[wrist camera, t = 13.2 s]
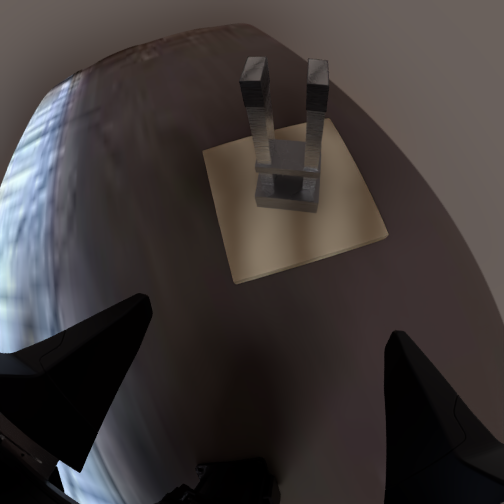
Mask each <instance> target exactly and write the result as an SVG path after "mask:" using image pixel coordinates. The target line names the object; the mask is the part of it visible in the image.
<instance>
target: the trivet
mask: <svg viewBox="0 0 504 504" xmlns="http://www.w3.org/2000/svg"><path fill="white" fill-rule="evenodd" d="M306 124H307V123H303V124H298V125H293V126H289V127H285V128H281V129H277V130H274V134H275V139H279V140H291V141H302V142H306ZM203 156H204V160H205V165H206V169H207V174H208V178H209V182H210V187H211V191H212V195H213V200H214V204H215V208H216V212H217V217H218V221H219V225H220V229H221V233H222V237H223V241H224V246H225V250H226V254H227V258H228V262H229V266H230V270H231V274H232V277H233V281H234V283H235V284H240V283H243V282H247V281H250V280H254V279H257V278H261V277H264V276H267V275H271V274H274V273H278V272H281V271H284V270H288V269H291V268H294V267H298V266H301V265H304V264H307V263H311V262H314V261H317V260H320V259H324V258H327V257H330V256H333V255H336V254H340V253H343V252H346V251H349V250H352V249H355V248H358V247H362V246H365V245H368V244H371V243H374V242H377V241H380V240H383V239H385V238H386V237H387V236H388V235H389V234H388V232H387V229H386V227H385V225H384V222H383V220H382V218H381V215H380V213H379V211H378V209H377V206H376V204H375V202H374V200H373V198H372V196H371V194H370V191H369V189H368V187H367V185H366V183H365V181H364V179H363V177H362V175H361V173H360V171H359V169H358V167H357V166H356V164H355V162H354V160H353V158H352V156H351V154H350V153H349V151H348V149H347V147H346V145H345V144H344V142H343V140H342V138H341V137H340V135H339V133H338V131H337V130H336V128H335V126H334V125H333V123H332V121H331V120H330V118H328V119H324V127H323V135H322V142H321V172H320V189H319V203H318V208H317V213H310V212H301V211H292V210H283V209H274V208H264V207H257V204H256V200H255V191H256V186H257V180H258V175H259V173H256V170H255V163H256V153H255V148H254V143H253V138H252V136H250V137H246V138H243V139H239V140H236V141H232V142H229V143H226V144H223V145H219V146H216V147H213V148H210V149H207V150H204V151H203Z"/></svg>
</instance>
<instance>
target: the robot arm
mask: <svg viewBox="0 0 504 504" xmlns="http://www.w3.org/2000/svg"><path fill="white" fill-rule="evenodd" d="M152 314H153V311H152V307H151V303H150V299H149V297H148V295H145V294H141V293H138V294H135V295H133V296H131V297H129V298H127V299H125V300H123V301H121V302H119V303H117V304H115V305H113V306H111V307H109V308H107V309H105V310H103V311H101V312H99V313H97V314H95V315H93V316H91V317H90V318H88V319H86V320H84V321H82V322H80V323H78V324H76V325H74V326H72V327H70V328H68V329H66V330H64V331H62V332H60V333H58V334H56V335H54V336H52V337H50V338H48V339H45V340H43V341H41V342H39V343H36V344H34V345H31V346H29V347H27V348H24V349H22V350H19V351H17V352H14V353H0V504H79V503H78V502H76V501H75V500H73V499H72V498H70V497H69V496H68V495H66V494H65V493H64V492H65V491H64V488H63V485H62V482H61V478H60V475H59V471H58V468H57V466H56V465H57V463H58V461H59V460H60V461H62V462H63V463H65V464H66V465H68V466H69V467H71V468H73V469H74V470H76V471H77V472H79V473H80V472H81V471H82V469H83V466H84V464H85V461H86V459H87V457H88V454H89V452H90V450H91V447H92V445H93V443H94V441H95V438H96V436H97V434H98V431H99V429H100V427H101V425H102V423H103V421H104V418H105V416H106V414H107V412H108V410H109V408H110V406H111V404H112V402H113V399H114V397H115V395H116V393H117V391H118V389H119V387H120V385H121V383H122V381H123V379H124V377H125V375H126V373H127V371H128V369H129V367H130V365H131V364H132V362H133V360H134V358H135V356H136V354H137V352H138V350H139V348H140V345H141V343H142V341H143V338H144V336H145V333H146V331H147V328H148V326H149V323H150V321H151V318H152ZM384 396H385V412H386V485H385V489H386V490H385V498H384V504H504V444H503V443H501V442H499V441H498V440H497V439H496V438H495V437H494V436H493V435H492V434H491V432H490V431H489V430H488V429H487V428H486V427H485V426H484V425H483V424H482V423H481V421H480V420H479V419H478V418H477V417H476V416H475V415H474V414H473V413H472V411H471V410H470V409H469V408H468V406H467V405H466V404H465V403H464V402H463V400H462V399H461V398H460V396H459V395H457V393H456V392H455V390H454V389H453V388H452V387H451V385H450V384H449V383H448V382H447V380H446V379H445V378H444V377H443V375H442V374H441V373H440V372H439V371H438V369H437V368H436V367H435V366H434V365H433V363H432V362H431V361H430V360H429V359H428V358H427V356H426V355H425V354H424V353H423V352H422V351H421V349H420V348H419V347H418V346H417V345H416V344H415V343H414V341H413V340H412V339H411V338H410V337H409V336H408V335H407V334H406V332H404V331H398V330H395V331H393V332H392V334H391V336H390V338H389V340H388V342H387V344H386V346H385V351H384ZM258 461H260V462H262V463H261V464H258V463H257V462H258ZM200 468H202V469H203V470H201V469H200ZM195 469H196V472H197V475H198V477H199V479H200V482H199V483H198V485H197V486H196V488H195V489H194V490H193V489H191V488H189V486H187V485H185V484H182V485H181V486H180V487H179V488H178V487H176V488H175V489H174V490H173V491H172V492H171V493H167V494H166V495H165V496H164V497H163V498H162V500H161V501H159V502H158V503H155V504H280V491H279V488H278V485H277V482H276V479H275V476H274V475H272V474H269V471H268V468H267V465H266V462H265V460H264V459H263V458H261V457H257V458H251V459H244V460H237V461H228V462H218V463H206V464H198V465H197V466H196V468H195Z"/></svg>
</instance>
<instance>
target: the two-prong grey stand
mask: <svg viewBox="0 0 504 504" xmlns="http://www.w3.org/2000/svg"><path fill="white" fill-rule="evenodd" d="M239 83H240V87H241V92H242V96H243V101H244V105H245V107H246V109H247V114H248V119H249V124H250V128H251V133H252V138H253V143H254V148H255V153H256V163H255V170H256V173H259V175H258V180H257V186H256V191H255V200H256V204H257V207H264V208H274V209H283V210H292V211H301V212H310V213H317V208H318V203H319V189H320V172H321V142H322V135H323V127H324V118H325V112H326V110H327V101H328V92H329V71H328V61H327V60H318V59H308V72H307V99H306V110H307V124H306V142H302V141H291V140H279V139H275V134H274V124H273V114H272V105H271V96H270V87H269V83H270V78H269V70H268V62H267V57H247V60H246V63H245V66H244V68H243V71H242V74H241V77H240V80H239Z"/></svg>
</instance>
